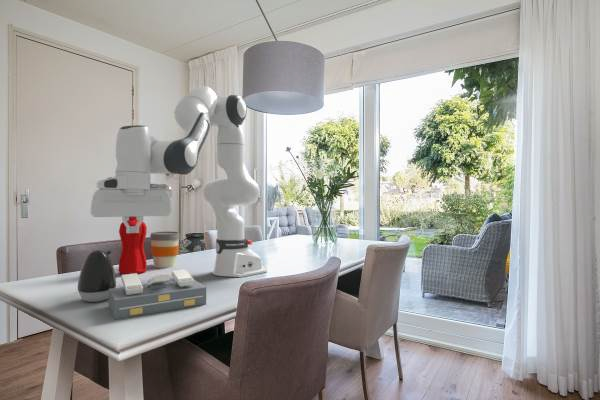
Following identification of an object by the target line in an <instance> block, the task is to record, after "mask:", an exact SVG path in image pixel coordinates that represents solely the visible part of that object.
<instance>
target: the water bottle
mask: <svg viewBox="0 0 600 400" xmlns="http://www.w3.org/2000/svg"><path fill="white" fill-rule="evenodd" d="M138 221H139V220H137V216H133V217H129V221H127V223H128V224H129V226H136V224H137V222H138ZM147 230H148V229H147V225H146V223H145V222H144V221H143V222H142V223H141V225H140V226H139V233H127V232H126V226H125V224H124V223H123V221H122V222H121V223H120V226H119V230H118V233H119V237H120V242H121V247H122V248H121V253H120V256H119V257H120V258H119V261H118V272H119V274H121V275H126V274H135V273H137V274H143V273H145V272H147V267H148V266H147V265H148V264H147V258H146V253H145V248H144V247H145V246H144V245H145V241H146V237H147V233H148V231H147Z"/></svg>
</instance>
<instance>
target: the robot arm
mask: <svg viewBox="0 0 600 400" xmlns="http://www.w3.org/2000/svg"><path fill="white" fill-rule="evenodd" d="M247 109H248V108H247V104H246V102H245V100H244V99H243V98H242V97H241V95H236V94H230V95H217V94H216V92H215V91H214V90H213V89H212V88H210V87H209V86H206V85H199V86H197V87H195V88H193V89H192V90H190V91H189V92H188V93H187V94H186V95H185V96H184V97H182V99H180V101H179V102H178V103H177V105H176V106H175V109H174V118H175V121H176V124H178V125H177V126H179V127H180V128H181V129H182V130H183V131H185V132H186V133H185V134H184V136H183V137H182V138H178V139H175V140H165V141H163V140H162V141H160V140H158V139H157V138H155V137H154V136H153V135H152V134H151V132H150V128H149V127H148V126H146V125H143V124H141V125H140V124H138V125H137V124H136V125H134V124H133V125H123V126H121V127H120V128H119V129H118V131H117V135H116V141H115V157H116V158H115V159H116V163H117V164H116V168H115V174H114V175H115V176H113V177H112V176H110V177H107V178H105V179H104V178H103V179H100V180H98V181H96V188H97V190H95V191H94V192H93V194H92V197H91V203H90V215H91V216H92V217H94V218H111V217H112V218H118V217H119V218H121V221H122V222H123V223H124V224H125V226H126V232H127V233H139V226H140V225H141V223H142V222H144V217H169V216H170V215H172V201H171V200H172V195H173V194H172V193H173V191H172V190H173V189H172V188H171V187H170V186H169V185H167V184H166V183H164V184H163V183H162V184H159V183H152V182H151V179H152V178H151V174H153V175H154V174H158V175H159V174H160V175H163V174H166V175H167V174H168V175H169V174H171V175H181V176H183V175H189V174H190V173H191V172H193V170H194V169H195V168H196V166H197V163H198V160H199V155H200V151H201V150H202V147H203V145H204V143H205V141H206V139H207V137H208V134H209V132H210V129H211V127H217V129H218V130H217V136H216V159H217V160H216V162H217V165H218V166H219V167H220V168H221V169H222V170H224V172H225V174H226V177H227V178H217V179H214V180H210V181H208V182H207V183H205V185H204V188H203V196H204V199H205V200H206V202H207V203H208V204H209V205H210V206H211V208H212V209H213V211H214V215H215V218H216V236H217V237H216V239H215V240H216V241H215V252H216V256H215V262H214V263H215V264H214V268H213V271H212V274H213V275H214V276H217V277H233V278H243V277H249V276H253V275H254V276H255V275H259V274H264V273H268V268H267V267H266V266H263V262H262V258H261V257H260V255H258V254H257V253H256V252H255V251H253V250H252V249H251V248H250V247H249V245H250V246H251V245H252V244H253V240H252V239H246V238H245V220H244V218H243V217H242V216H241V215H239V214H238V212H237V210H236V206H238V207H239V206H240V207H241V206H242V207H244V206H250V205H253V204H256V203H257V202H258V200H259V198H260V195H261V194H260V193H261V190H260V186H259V185H258V183H257V181H255V179H253V178H252V177H251V175H250V174H249V172H248V169H247V165H246V159H245V158H246V157H245V135H244V130H243V123H244V121H245V119H246V116H247V112H248V110H247ZM133 216H137V220H139V221H138V222H137V224H136V226H129V224H128V223H127V221H129V217H133Z"/></svg>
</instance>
